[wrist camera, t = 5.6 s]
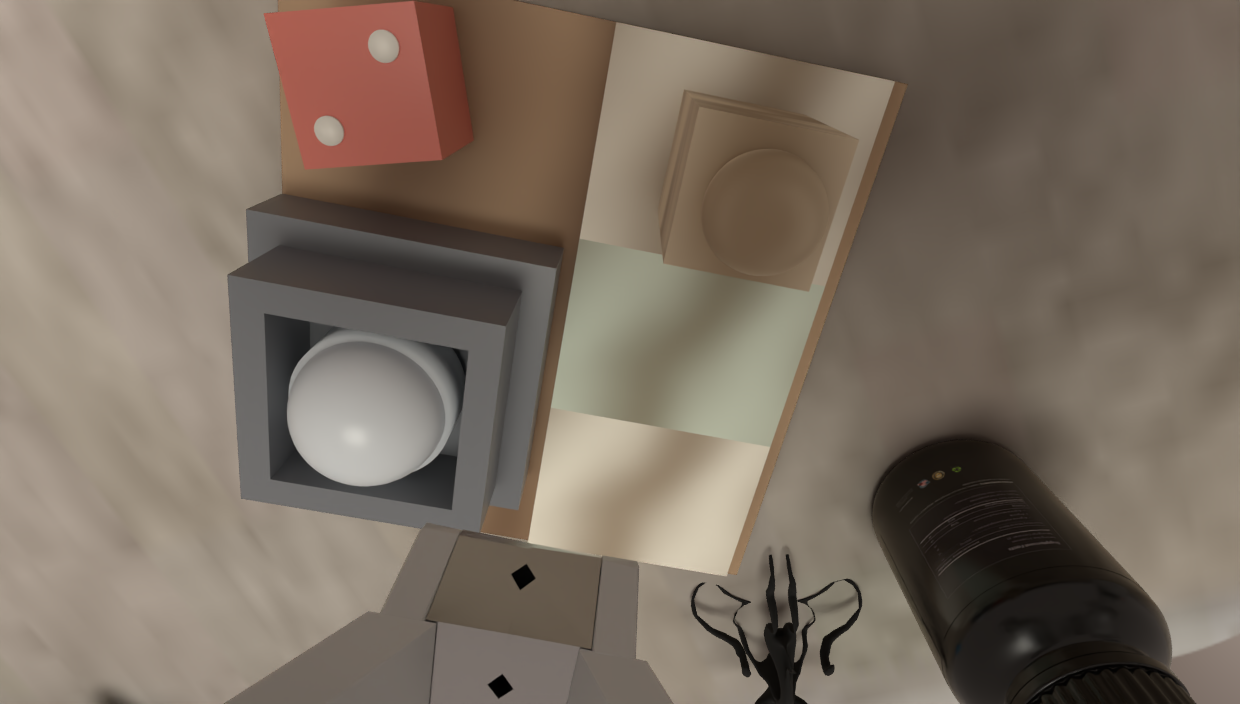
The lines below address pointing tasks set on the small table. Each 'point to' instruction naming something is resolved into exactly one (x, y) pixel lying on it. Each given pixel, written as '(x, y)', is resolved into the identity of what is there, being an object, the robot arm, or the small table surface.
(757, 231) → the pawn
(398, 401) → the dome
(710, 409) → the board
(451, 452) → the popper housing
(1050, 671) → the supplement bottle
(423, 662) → the robot arm
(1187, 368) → the small table surface
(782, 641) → the creature
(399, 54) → the die
